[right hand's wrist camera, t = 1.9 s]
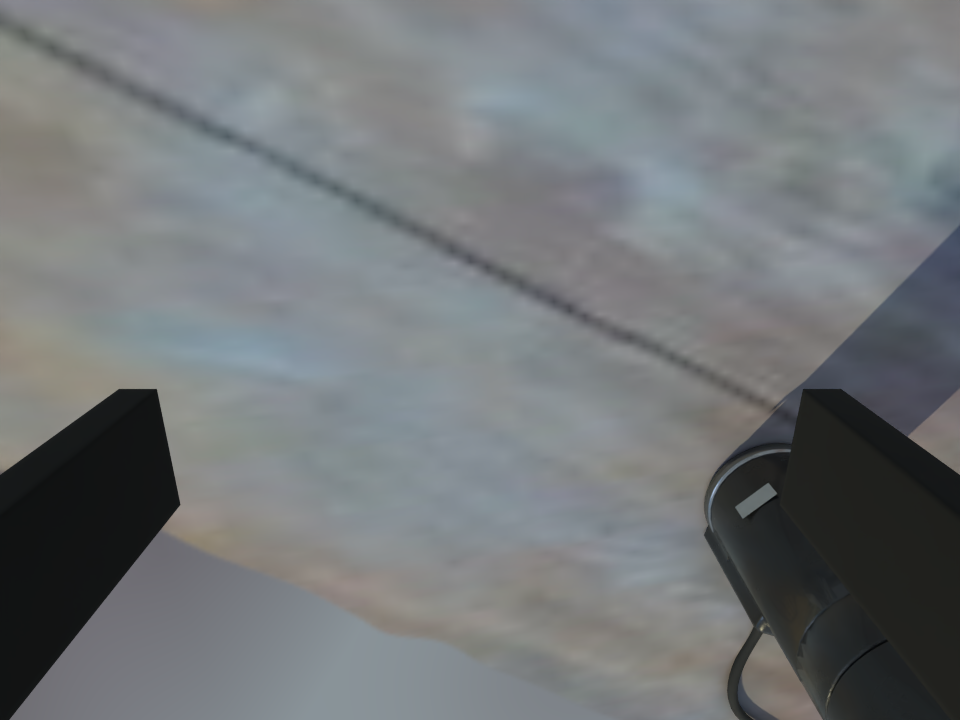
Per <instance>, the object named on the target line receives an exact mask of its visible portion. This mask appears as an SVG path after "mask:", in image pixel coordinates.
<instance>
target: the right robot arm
mask: <svg viewBox="0 0 960 720" xmlns="http://www.w3.org/2000/svg"><path fill="white" fill-rule="evenodd" d="M179 506H180V501H179V496H178V491H177V486H176V481H175V476H174V471H173V466H172V461H171V456H170V452H169V447H168V442H167V437H166V432H165V427H164V422H163V417H162V412H161V408H160V403H159V398H158V393H157V389H119V390H117V391H116V392H114V393H113V394H112V395H110V396H109V397H107V398H106V399H105V400H103V401H102V402H101V403H99V404H98V405H96V406H95V407H94V408H92V409H91V410H89V411H88V412H87V413H85V414H84V415H83V416H81V417H80V418H78V419H77V420H76V421H74V422H73V423H71V424H70V425H69V426H67V427H66V428H65V429H63V430H62V431H60V432H59V433H58V434H56V435H55V436H53V437H52V438H51V439H49V440H48V441H47V442H45V443H44V444H42V445H41V446H40V447H38V448H37V449H36V450H34V451H33V452H31V453H30V454H29V455H27V456H26V457H24V458H23V459H22V460H20V461H19V462H18V463H16V464H15V465H13V466H12V467H11V468H9V469H8V470H6V471H5V472H4V473H2V474H1V475H0V720H9V719H10V718H11V717H12V716H13V714H14V713H15V712H16V710H17V709H18V708H19V707H20V706H21V704H22V703H23V702H24V701H25V699H26V698H27V697H28V696H29V694H30V693H31V692H32V690H33V689H34V688H35V687H36V685H37V684H38V683H39V682H40V680H41V679H42V678H43V677H44V675H45V674H46V673H47V672H48V670H49V669H50V668H51V667H52V665H53V664H54V663H55V662H56V660H57V659H58V658H59V657H60V655H61V654H62V653H63V651H64V650H65V649H66V648H67V646H68V645H69V644H70V643H71V641H72V640H73V639H74V638H75V636H76V635H77V634H78V633H79V631H80V630H81V629H82V628H83V626H84V625H85V624H86V623H87V621H88V620H89V619H90V618H91V616H92V615H93V614H94V613H95V611H96V610H97V609H98V608H99V606H100V605H101V604H102V602H103V601H104V600H105V599H106V598H107V596H108V595H109V594H110V592H111V591H112V590H113V589H114V587H115V586H116V585H117V584H118V582H119V581H120V580H121V579H122V577H123V576H124V575H125V574H126V572H127V571H128V570H129V569H130V567H131V566H132V565H133V564H134V562H135V561H136V560H137V558H138V557H139V556H140V555H141V554H142V552H143V551H144V550H145V548H146V547H147V546H148V545H149V543H150V542H151V541H152V540H153V538H154V537H155V536H156V535H157V533H158V532H159V531H160V530H161V528H162V527H163V526H164V525H165V523H166V522H167V521H168V520H169V518H170V517H171V516H172V515H173V513H174V512H175V511H176V510H177V508H178V507H179ZM780 506H781V507H782V508H783V510H784V511H785V512H786V513H787V515H788V516H789V517H790V518H791V520H792V521H793V522H794V523H795V525H796V526H797V527H798V528H799V530H800V531H801V532H802V533H803V535H804V536H805V537H806V538H807V540H808V541H809V542H810V543H811V545H812V546H813V547H814V549H815V550H816V551H817V552H818V554H819V555H820V556H821V557H822V559H823V560H824V561H825V562H826V564H827V565H828V566H829V567H830V569H831V570H832V571H833V572H834V574H835V575H836V576H837V577H838V579H839V580H840V581H841V582H842V584H843V585H844V586H845V587H846V589H847V590H848V591H849V592H850V594H851V595H852V596H853V598H854V599H855V600H856V601H857V603H858V604H859V605H860V606H861V608H862V609H863V610H864V611H865V613H866V614H867V615H868V616H869V618H870V619H871V620H872V621H873V623H874V624H875V625H876V626H877V628H878V629H879V630H880V631H881V633H882V634H883V635H884V636H885V638H886V639H887V640H888V641H889V643H890V644H891V645H892V647H893V648H894V649H895V650H896V652H897V653H898V654H899V655H900V657H901V658H902V659H903V660H904V662H905V663H906V664H907V665H908V667H909V668H910V669H911V670H912V672H913V673H914V674H915V675H916V677H917V678H918V679H919V680H920V682H921V683H922V684H923V685H924V687H925V688H926V689H927V690H928V692H929V693H930V694H931V696H932V697H933V698H934V699H935V701H936V702H937V703H938V704H939V706H940V707H941V708H942V709H943V711H944V712H945V713H946V714H947V716H948V717H949V718H950V719H951V720H960V475H959V474H958V473H956V472H955V471H954V470H952V469H951V468H949V467H948V466H947V465H945V464H944V463H942V462H941V461H940V460H938V459H937V458H936V457H934V456H933V455H931V454H930V453H929V452H927V451H926V450H924V449H923V448H922V447H920V446H919V445H918V444H916V443H915V442H913V441H912V440H911V439H909V438H908V437H907V436H905V435H904V434H902V433H901V432H900V431H898V430H897V429H895V428H894V427H893V426H891V425H890V424H889V423H887V422H886V421H884V420H883V419H882V418H880V417H879V416H877V415H876V414H875V413H873V412H872V411H871V410H869V409H868V408H866V407H865V406H864V405H862V404H861V403H859V402H858V401H857V400H855V399H854V398H853V397H851V396H850V395H848V394H847V393H846V392H844V391H843V390H841V389H803V393H802V398H801V403H800V408H799V412H798V417H797V422H796V427H795V432H794V437H793V442H792V447H791V452H790V456H789V461H788V466H787V471H786V476H785V481H784V486H783V491H782V496H781V501H780Z"/></svg>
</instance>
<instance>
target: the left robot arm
mask: <svg viewBox="0 0 960 720" xmlns="http://www.w3.org/2000/svg"><path fill="white" fill-rule="evenodd" d="M791 447H792V445H788V444H768V445H763V446H758V447H755V448H752V449H749V450H747V451H745V452H743V453H741V454H739V455H737V456H736V457H734V458H733V459H731V460H730V461H729V462H727V463H726V464H725V465H724V466H723V467H722V468H721V469H720V470H719V471H718V472H717V474H716V475H715V476H714V478H713V479H712V481H711V483H710V485H709V487H708V489H707V492H706V496H705V502H704V511H705V517H706V520H707V523H708V528H707V530H706V532H705V534H704V536H705V538H706V540H707V542H708V544H709V546H710V547H711V549H712V551H713V553H714V555H715V557H716V558H717V560H718V562H719V564H720V566H721V567H722V569H723V571H724V573H725V575H726V577H727V578H728V580H729V582H730V584H731V586H732V587H733V589H734V591H735V593H736V595H737V597H738V598H739V600H740V602H741V604H742V606H743V607H744V609H745V611H746V613H747V615H748V617H749V618H750V620H751V622H752V624H753V626H754V628H753V630H752V632H751V634H750V636H749V637H748V639H747V641H746V642H745V644H744V646H743V647H742V649H741V650H740V652H739V654H738V655H737V657H736V659H735V662H734V664H733V666H732V669H731V672H730V676H729V680H728V689H727V692H728V700H729V703H730V706H731V709H732V711H733V712H734V714H735V715H736V716H737V717H738V719H739V720H753V719H752V718H750V717H749V716H748V715H747V714H746V713H745V712H744V711H743V710H742V708H741V706H740V705H739V702H738V696H737V690H738V683H739V679H740V676H741V672H742V670H743V668H744V665H745V663H746V661H747V659H748V657H749V655H750V654H751V652H752V650H753V648H754V647H755V645H756V643H757V642H758V640H759V639H760V637H761V635H762V634H763V633H765V634H768V635H772V636H774V637H775V638H776V640H777V642H778V643H779V645H780V647H781V649H782V650H783V652H784V654H785V656H786V657H787V659H788V661H789V662H790V664H791V666H792V668H793V669H794V671H795V673H796V674H797V676H798V678H799V680H800V681H801V683H802V684H803V686H804V688H805V690H806V691H807V693H808V695H809V697H810V698H811V700H812V702H813V703H814V705H815V707H816V709H817V710H818V712H819V714H820V715H821V717H822V719H823V720H951V719H950V718H949V717H948V716H947V714H946V713H945V712H944V711H943V709H942V708H941V707H940V706H939V704H938V703H937V702H936V701H935V699H934V698H933V697H932V696H931V694H930V693H929V692H928V690H927V689H926V688H925V687H924V685H923V684H922V683H921V682H920V680H919V679H918V678H917V677H916V675H915V674H914V673H913V672H912V670H911V669H910V668H909V667H908V665H907V664H906V663H905V662H904V660H903V659H902V658H901V657H900V655H899V654H898V653H897V652H896V650H895V649H894V648H893V647H892V645H891V644H890V643H889V641H888V640H887V639H886V638H885V636H884V635H883V634H882V633H881V631H880V630H879V629H878V628H877V626H876V625H875V624H874V623H873V621H872V620H871V619H870V618H869V616H868V615H867V614H866V613H865V611H864V610H863V609H862V608H861V606H860V605H859V604H858V603H857V601H856V600H855V599H854V598H853V596H852V595H851V594H850V592H849V591H848V590H847V589H846V587H845V586H844V585H843V584H842V582H841V581H840V580H839V579H838V577H837V576H836V575H835V574H834V572H833V571H832V570H831V569H830V567H829V566H828V565H827V564H826V562H825V561H824V560H823V559H822V557H821V556H820V555H819V554H818V552H817V551H816V550H815V549H814V547H813V546H812V545H811V543H810V542H809V541H808V540H807V538H806V537H805V536H804V535H803V533H802V532H801V531H800V530H799V528H798V527H797V526H796V525H795V523H794V522H793V521H792V520H791V518H790V517H789V516H788V515H787V513H786V512H785V511H784V510H783V508H782V507H781V506H780V501H781V496H782V491H783V486H784V481H785V476H786V471H787V466H788V461H789V456H790V452H791Z"/></svg>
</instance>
